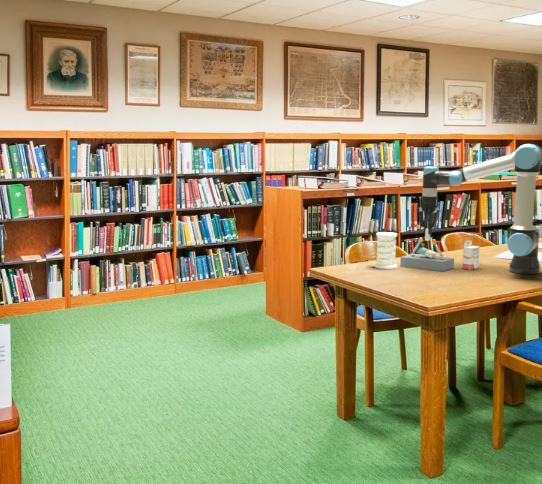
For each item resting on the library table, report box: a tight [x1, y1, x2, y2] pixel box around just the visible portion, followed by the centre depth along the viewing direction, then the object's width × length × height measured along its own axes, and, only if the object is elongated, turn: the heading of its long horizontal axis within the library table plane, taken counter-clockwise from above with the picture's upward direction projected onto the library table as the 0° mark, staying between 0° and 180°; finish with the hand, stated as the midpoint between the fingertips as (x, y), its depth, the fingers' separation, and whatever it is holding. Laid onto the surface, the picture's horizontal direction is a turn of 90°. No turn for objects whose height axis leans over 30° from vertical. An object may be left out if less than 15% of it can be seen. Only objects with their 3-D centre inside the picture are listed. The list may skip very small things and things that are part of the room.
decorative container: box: [374, 231, 398, 270], centre depth 341 cm, size 12×12×18 cm
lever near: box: [431, 239, 444, 257], centre depth 338 cm, size 3×3×10 cm
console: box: [399, 253, 455, 272], centre depth 342 cm, size 24×14×6 cm, turn 53°
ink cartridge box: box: [462, 239, 480, 271], centre depth 337 cm, size 9×5×15 cm, turn 134°
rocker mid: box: [417, 247, 438, 258], centre depth 342 cm, size 8×5×2 cm, turn 54°
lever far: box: [411, 237, 424, 254], centre depth 345 cm, size 3×3×10 cm
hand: (427, 240), depth 341 cm, fingers closed
